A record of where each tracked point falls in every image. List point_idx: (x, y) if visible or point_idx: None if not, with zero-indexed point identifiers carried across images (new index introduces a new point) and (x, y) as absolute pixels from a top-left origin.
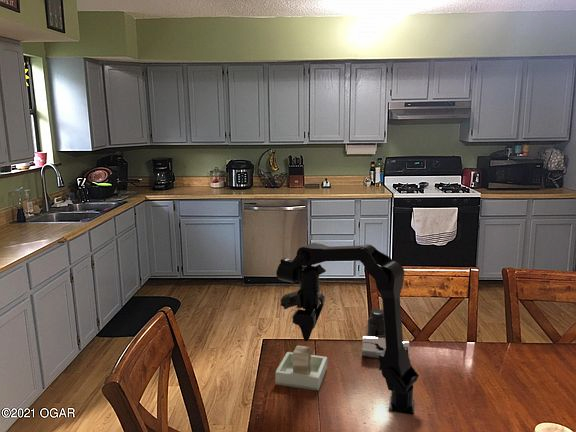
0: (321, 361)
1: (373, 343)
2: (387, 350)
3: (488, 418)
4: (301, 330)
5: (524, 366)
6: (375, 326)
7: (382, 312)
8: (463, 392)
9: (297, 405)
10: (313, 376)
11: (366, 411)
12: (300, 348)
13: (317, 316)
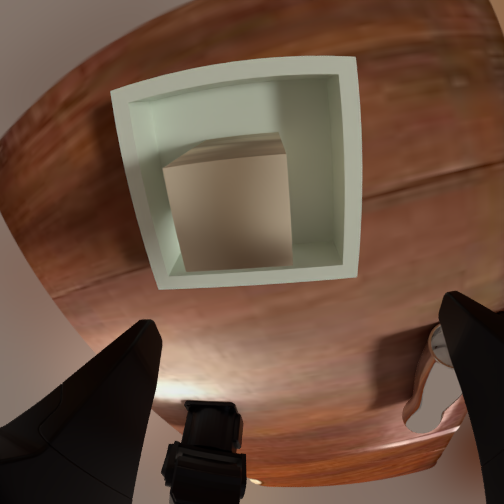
0: (339, 246)
1: (434, 389)
2: None
3: None
4: (45, 401)
5: (384, 467)
6: None
7: None
8: (300, 454)
9: (74, 223)
10: (158, 268)
11: None
12: (245, 199)
13: (480, 432)
